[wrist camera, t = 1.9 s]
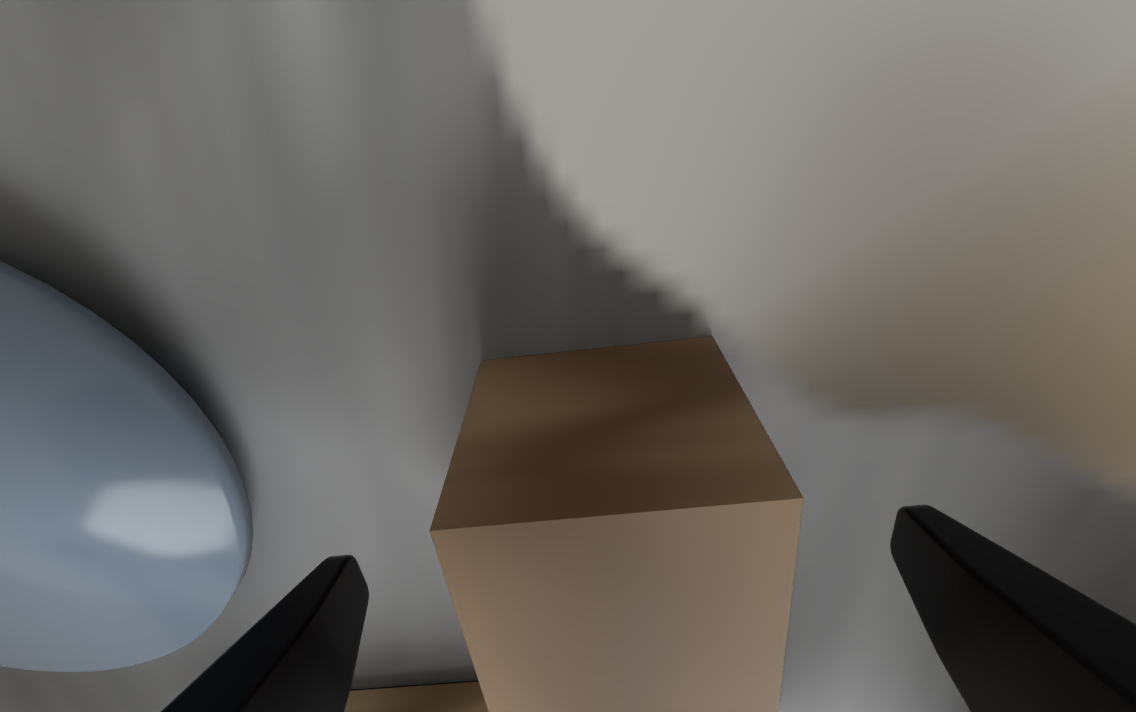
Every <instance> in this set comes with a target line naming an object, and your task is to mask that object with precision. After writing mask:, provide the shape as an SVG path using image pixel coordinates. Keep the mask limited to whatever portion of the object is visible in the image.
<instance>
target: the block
mask: <svg viewBox="0 0 1136 712" xmlns="http://www.w3.org/2000/svg"><path fill="white" fill-rule="evenodd" d="M802 507H803V496H802V495H801V493H800V491H799V489H798V487H797V486H796V484H795V482H794V480H793V479H792V477H791V475H790V473H789V471H788V470H787V468H786V466H785V464H784V463H783V461H782V459H781V457H780V455H779V454H778V452H777V450H776V448H775V447H774V445H773V443H772V441H771V439H770V438H769V436H768V434H767V432H766V431H765V429H764V427H763V425H762V423H761V422H760V420H759V418H758V416H757V415H756V413H755V411H754V409H753V407H752V406H751V404H750V402H749V400H748V399H747V397H746V395H745V393H744V391H743V390H742V388H741V386H740V384H739V383H738V381H737V379H736V377H735V376H734V374H733V372H732V370H731V368H730V367H729V365H728V363H727V361H726V360H725V358H724V356H723V354H722V352H721V351H720V349H719V347H718V345H717V344H716V342H715V340H714V338H713V336H710V337H700V338H691V339H681V340H672V341H662V342H653V343H643V344H634V345H624V346H614V347H605V348H595V349H586V350H576V351H567V352H557V353H548V354H538V355H529V356H519V357H510V358H500V359H491V360H482V361H481V364H480V367H479V370H478V374H477V377H476V380H475V384H474V387H473V390H472V393H471V397H470V400H469V403H468V407H467V410H466V413H465V416H464V420H463V423H462V426H461V430H460V433H459V436H458V439H457V443H456V446H455V449H454V453H453V456H452V459H451V463H450V466H449V469H448V472H447V476H446V479H445V482H444V486H443V489H442V492H441V495H440V499H439V502H438V505H437V509H436V512H435V515H434V518H433V522H432V525H431V528H430V533H431V536H432V540H433V543H434V546H435V549H436V552H437V555H438V558H439V561H440V564H441V567H442V570H443V573H444V576H445V579H446V582H447V586H448V589H449V592H450V595H451V598H452V601H453V604H454V607H455V610H456V613H457V616H458V619H459V622H460V625H461V628H462V632H463V635H464V638H465V641H466V644H467V647H468V650H469V653H470V656H471V659H472V662H473V665H474V668H475V671H476V674H477V678H478V681H479V684H480V687H481V690H482V693H483V696H484V699H485V702H486V705H487V708H488V711H489V712H778V710H779V701H780V693H781V684H782V676H783V667H784V659H785V650H786V642H787V634H788V625H789V617H790V608H791V600H792V591H793V583H794V574H795V566H796V557H797V549H798V541H799V532H800V524H801V515H802Z"/></svg>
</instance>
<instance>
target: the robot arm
mask: <svg viewBox="0 0 1136 712" xmlns="http://www.w3.org/2000/svg"><path fill="white" fill-rule="evenodd" d="M890 547H891V553H892V556H893V559H894V561H895V563H896V566H897V568H898V570H899V572H900V574H901V577H902V579H903V581H904V583H905V585H906V587H907V590H908V592H909V594H910V596H911V598H912V601H913V603H914V605H915V607H916V609H917V611H918V614H919V616H920V618H921V620H922V622H923V624H924V627H925V629H926V631H927V633H928V635H929V637H930V640H931V642H932V644H933V646H934V648H935V650H936V652H937V654H938V655H939V657H940V659H941V661H942V663H943V664H944V666H945V668H946V670H947V672H948V673H949V675H950V677H951V678H952V680H953V682H954V684H955V685H956V687H957V689H958V690H959V692H960V694H961V696H962V697H963V699H964V701H965V702H966V704H967V706H968V708H969V709H970V711H971V712H1136V624H1134V623H1132V622H1131V621H1129V620H1127V619H1125V618H1124V617H1122V616H1120V615H1118V614H1117V613H1115V612H1113V611H1112V610H1110V609H1108V608H1106V607H1105V606H1103V605H1101V604H1099V603H1098V602H1096V601H1094V600H1093V599H1091V598H1089V597H1087V596H1086V595H1084V594H1082V593H1080V592H1079V591H1077V590H1075V589H1073V588H1072V587H1070V586H1068V585H1067V584H1065V583H1063V582H1061V581H1060V580H1058V579H1056V578H1054V577H1053V576H1051V575H1049V574H1048V573H1046V572H1044V571H1042V570H1041V569H1039V568H1037V567H1035V566H1034V565H1032V564H1030V563H1029V562H1027V561H1025V560H1023V559H1022V558H1020V557H1018V556H1016V555H1015V554H1013V553H1011V552H1010V551H1008V550H1006V549H1004V548H1003V547H1001V546H999V545H997V544H996V543H994V542H992V541H991V540H989V539H987V538H985V537H984V536H982V535H980V534H978V533H977V532H975V531H973V530H972V529H970V528H968V527H966V526H965V525H963V524H961V523H959V522H958V521H956V520H954V519H952V518H951V517H949V516H947V515H946V514H944V513H942V512H940V511H939V510H937V509H935V508H933V507H931V506H928V505H915V506H904V507H901V508H900V509H899V510H898V512H897V516H896V520H895V524H894V529H893V533H892V538H891V543H890ZM368 600H369V591H368V586H367V583H366V581H365V579H364V576H363V574H362V572H361V569H360V567H359V565H358V563H357V560H356V559H355V557H353V556H352V555H341V556H331V557H328V558H327V559H325V560H324V561H323V562H322V563H320V564H319V565H318V566H317V567H316V568H315V569H314V570H313V571H312V572H311V573H310V574H309V575H308V576H306V577H305V578H304V579H303V580H302V581H301V582H300V583H299V584H298V585H297V586H296V587H295V588H294V589H292V590H291V591H290V592H289V593H288V594H287V595H286V596H285V597H284V598H283V599H282V600H281V601H280V602H278V603H277V604H276V605H275V606H274V607H273V608H272V609H271V610H270V611H269V612H268V613H267V614H266V615H264V616H263V617H262V618H261V619H260V620H259V621H258V622H257V623H256V624H255V625H254V626H253V627H252V628H250V629H249V630H248V631H247V632H246V633H245V634H244V635H243V636H242V637H241V638H240V639H239V640H238V641H236V642H235V643H234V644H233V645H232V646H231V647H230V648H229V649H228V650H227V651H226V652H225V653H223V654H222V655H221V656H220V657H219V658H218V659H217V660H216V661H215V662H214V663H213V664H212V665H211V666H209V667H208V668H207V669H206V670H205V671H204V672H203V673H202V674H201V675H200V676H199V677H198V678H197V679H195V680H194V681H193V682H192V683H191V684H190V685H189V686H188V687H187V688H186V689H185V690H184V691H183V692H181V693H180V694H179V695H178V696H177V697H176V698H175V699H174V700H173V701H172V702H171V703H170V704H169V705H167V706H166V707H165V708H164V709H163V710H162V711H161V712H344V711H345V707H346V704H347V700H348V697H349V692H350V688H351V684H352V679H353V675H354V670H355V665H356V660H357V655H358V650H359V645H360V640H361V635H362V630H363V625H364V620H365V616H366V611H367V606H368Z"/></svg>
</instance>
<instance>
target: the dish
mask: <svg viewBox="0 0 1136 712" xmlns="http://www.w3.org/2000/svg"><path fill="white" fill-rule="evenodd" d="M252 541H253V526H252V514H251V508H250V504H249V500H248V496H247V493H246V489H245V485H244V483H243V480H242V478H241V476H240V473H239V471H238V469H237V466H236V464H235V462H234V459H233V457H232V455H231V454H230V452H229V450H228V449H227V447H226V445H225V444H224V442H223V440H222V439H221V437H220V435H219V434H218V432H217V430H216V429H215V427H214V426H213V425H212V423H211V422H210V421H209V420H208V418H207V417H206V416H205V414H204V413H203V412H202V410H201V409H200V408H199V407H198V405H197V404H196V403H195V401H194V400H193V399H192V398H191V397H190V396H189V395H188V393H187V392H186V391H185V390H184V389H183V388H182V387H181V386H180V385H179V384H178V383H177V382H176V381H175V380H174V379H173V378H172V377H171V376H170V375H169V373H168V372H167V371H166V370H165V369H164V368H163V367H161V366H160V365H159V364H158V363H157V362H156V361H155V360H153V359H152V358H151V357H150V356H149V355H148V354H147V353H145V352H144V351H143V350H142V349H141V348H140V347H139V346H137V345H136V344H135V343H134V342H133V341H132V340H131V339H129V338H128V337H127V336H125V335H124V334H122V333H121V332H120V331H118V330H117V329H116V328H114V327H113V326H111V325H110V324H109V323H107V322H106V321H105V320H103V319H102V318H100V317H99V316H98V315H96V314H95V313H94V312H92V311H91V310H89V309H88V308H86V307H84V306H83V305H81V304H79V303H78V302H76V301H74V300H73V299H71V298H69V297H68V296H66V295H64V294H63V293H61V292H59V291H58V290H56V289H54V288H53V287H51V286H49V285H48V284H46V283H44V282H42V281H40V280H38V279H36V278H34V277H32V276H30V275H28V274H26V273H24V272H22V271H20V270H18V269H16V268H14V267H12V266H10V265H8V264H6V263H4V262H2V261H0V666H1V667H7V668H16V669H24V670H33V671H50V672H88V671H101V670H109V669H118V668H124V667H128V666H133V665H137V664H141V663H146V662H149V661H152V660H154V659H157V658H160V657H163V656H166V655H168V654H171V653H172V652H174V651H176V650H178V649H180V648H182V647H184V646H186V645H188V644H189V643H191V642H192V641H193V640H195V639H196V638H197V637H199V636H200V635H201V634H203V633H204V632H205V631H206V630H207V629H208V628H209V627H210V626H211V625H212V624H213V623H214V622H215V620H216V619H217V618H218V617H219V616H220V615H221V613H222V611H223V610H224V608H225V607H226V605H227V604H228V602H229V601H230V599H231V597H232V596H233V594H234V593H235V591H236V589H237V588H238V586H239V584H240V583H241V581H242V579H243V577H244V576H245V573H246V570H247V566H248V563H249V560H250V557H251V550H252Z"/></svg>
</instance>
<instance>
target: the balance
mask: <svg viewBox="0 0 1136 712" xmlns="http://www.w3.org/2000/svg"><path fill="white" fill-rule="evenodd" d="M344 712H489V711H488V708H487V705H486V702H485V699H484V696H483V693H482V690H481V687H480V684H479V682H466V683H452V684H438V685H425V686H411V687H397V688H384V689H370V690H356V691H350V692H349V697H348V700H347V704H346V707H345V711H344Z"/></svg>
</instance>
